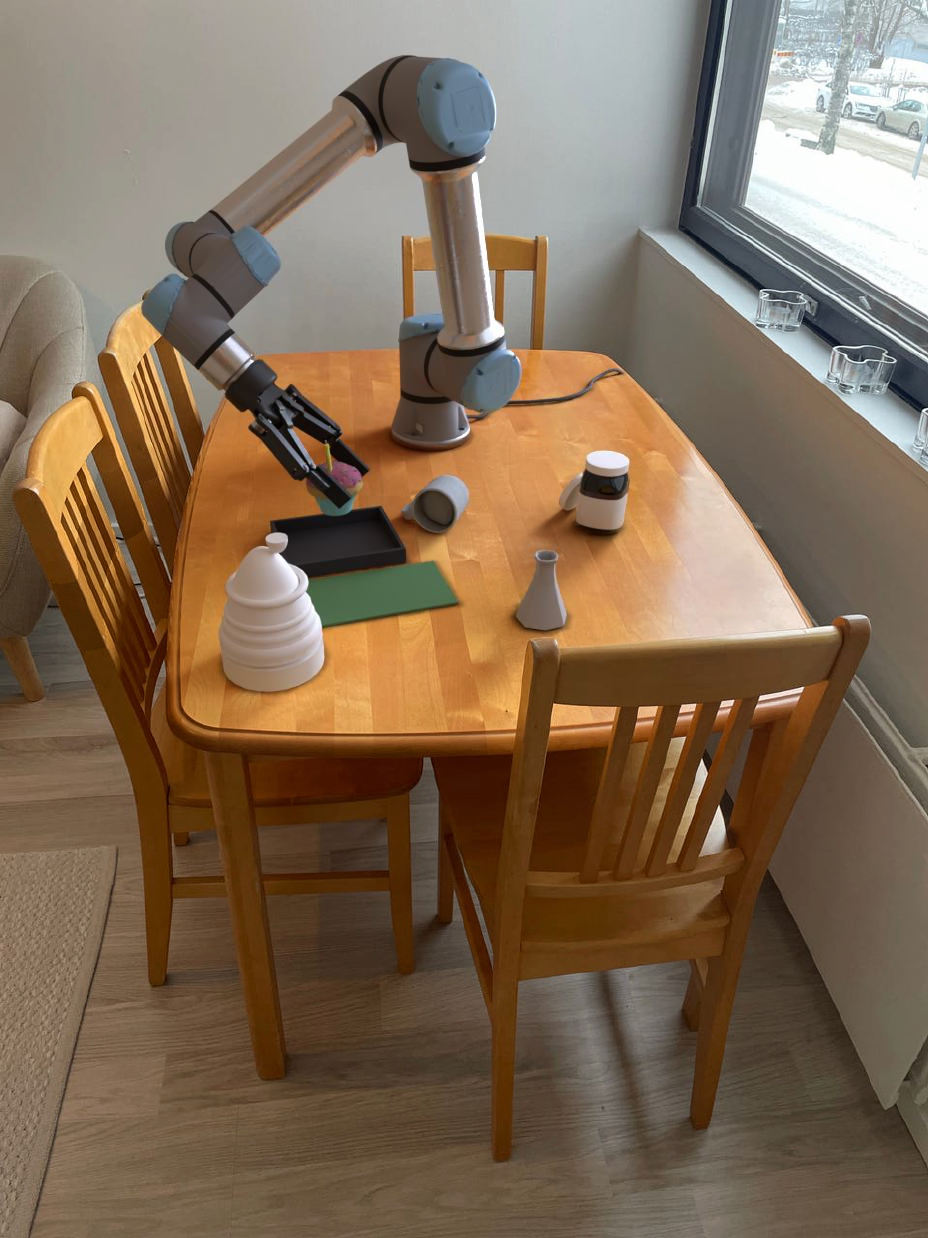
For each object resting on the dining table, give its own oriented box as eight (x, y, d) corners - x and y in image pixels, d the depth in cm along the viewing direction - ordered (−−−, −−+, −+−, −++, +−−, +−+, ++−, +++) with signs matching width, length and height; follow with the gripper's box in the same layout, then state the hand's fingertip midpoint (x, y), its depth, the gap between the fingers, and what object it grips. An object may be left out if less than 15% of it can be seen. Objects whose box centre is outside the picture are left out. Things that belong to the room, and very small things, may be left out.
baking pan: (381, 518, 150) (381, 505, 149) (406, 562, 139) (406, 548, 137) (270, 534, 145) (269, 520, 144) (287, 581, 134) (285, 566, 132)
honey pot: (324, 629, 124) (315, 511, 114) (324, 688, 113) (314, 564, 103) (228, 634, 122) (209, 515, 112) (218, 694, 112) (197, 569, 102)
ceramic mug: (471, 514, 152) (472, 472, 148) (456, 537, 146) (456, 493, 141) (412, 505, 155) (410, 463, 150) (394, 527, 148) (392, 483, 144)
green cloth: (433, 562, 139) (433, 560, 139) (458, 604, 130) (458, 601, 129) (302, 583, 133) (302, 580, 133) (319, 628, 124) (319, 625, 124)
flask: (512, 603, 130) (515, 542, 124) (562, 602, 131) (568, 541, 125) (518, 632, 124) (523, 570, 119) (571, 631, 125) (578, 568, 119)
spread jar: (617, 543, 145) (626, 476, 139) (548, 530, 148) (553, 464, 142) (630, 510, 155) (639, 446, 148) (565, 499, 158) (571, 435, 151)
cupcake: (354, 525, 134) (349, 449, 127) (299, 518, 135) (291, 443, 129) (370, 498, 141) (367, 425, 134) (318, 493, 142) (312, 420, 136)
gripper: (253, 366, 139) (359, 472, 146) (192, 419, 122) (316, 536, 129) (282, 334, 136) (390, 444, 142) (225, 384, 118) (350, 507, 125)
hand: (355, 488), depth 136 cm, fingers closed on cupcake, 9 cm apart
